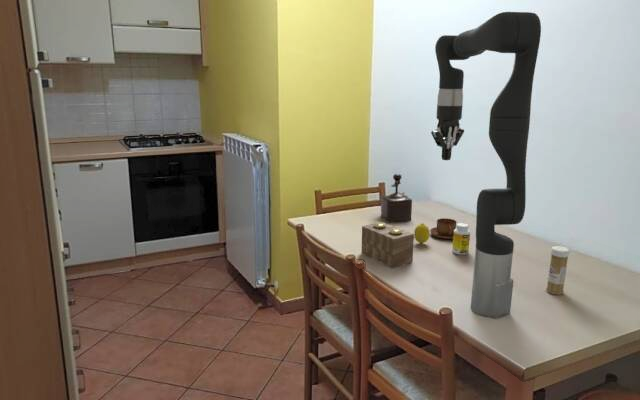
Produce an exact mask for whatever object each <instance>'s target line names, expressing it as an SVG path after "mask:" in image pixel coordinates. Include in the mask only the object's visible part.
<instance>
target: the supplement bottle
mask: <svg viewBox="0 0 640 400" xmlns="http://www.w3.org/2000/svg"><path fill="white" fill-rule="evenodd" d="M470 241H471V231H470V230H469V224H467V223H465V222H464V223H461V222H460V223H456V229H455V230H454V235H453V239H452V252H453V253H454V254H456V255H461V256H462V255H463V256H464V255H468V254H469V250H470Z"/></svg>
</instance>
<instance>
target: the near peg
mask: <svg viewBox="0 0 640 400" xmlns="http://www.w3.org/2000/svg"><path fill="white" fill-rule="evenodd" d="M400 229H401V228H400ZM400 229H390V234H393V235H399V234H401V233H402V230H403V229H402V230H400Z"/></svg>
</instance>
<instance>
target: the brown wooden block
mask: <svg viewBox="0 0 640 400" xmlns="http://www.w3.org/2000/svg"><path fill="white" fill-rule="evenodd" d="M378 223H384V224H386V226H385V228H382V229H377V228H375V227H374V223H371V224H367V225H362V227H361V255H364V256H366V257H368V258H370V259H372V260H375V261H377V262H379V263H381V264H383V265H385V266H387V267H390V268H392V269H394V268H398V267H401V266H404V265H408V264H411V263H413V261H414V242H415V241H414V240H415V236H414V232H410V231H408V230H405V229H402V228H399V227H398V226H394V225H391V224H388V223H386V222H384V221H381V222H378ZM390 229H400V230H402V233H401V234H399V235H393V234H390Z"/></svg>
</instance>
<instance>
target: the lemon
mask: <svg viewBox="0 0 640 400" xmlns="http://www.w3.org/2000/svg"><path fill="white" fill-rule="evenodd" d="M413 234H414V240H415V241H416V242H418V243H419V244H420V245H423V244H424V243H426V242H427V241H428V240H429V238H430V235H431V232H430V229H429V227H428V226H427V225H426V224H425V223H421V224H418V225H416V227H415V229H414V231H413Z"/></svg>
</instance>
